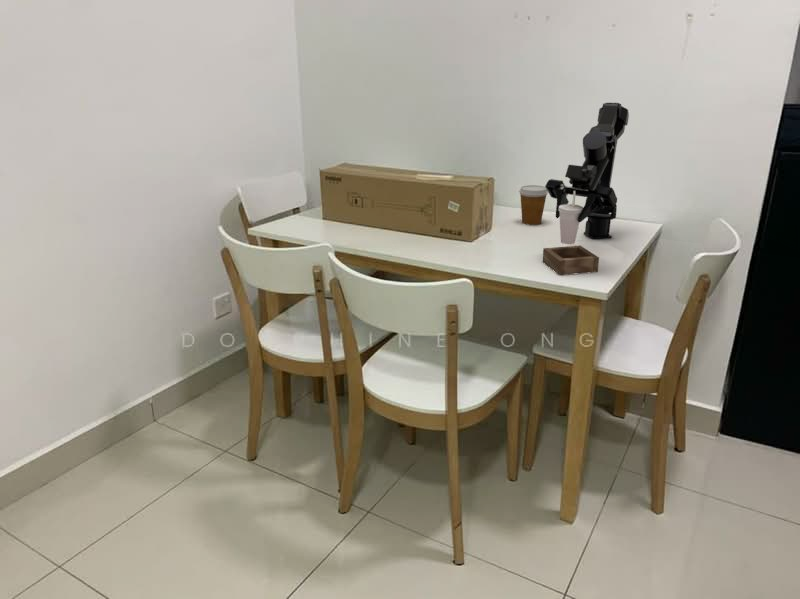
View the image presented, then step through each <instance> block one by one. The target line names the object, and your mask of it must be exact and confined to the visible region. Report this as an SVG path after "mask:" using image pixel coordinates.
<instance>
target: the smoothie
mask: <svg viewBox="0 0 800 599" xmlns="http://www.w3.org/2000/svg"><path fill="white" fill-rule="evenodd" d="M575 193H576V191H573V195H572V204H570V203H568V204H564V205H560V206H559V209H558V211H559V212H560V216H559V230H560V236H559V237H560V243H561V244H562V245H563V244H565V245H573V244H575V243H576V239H577V234H578V230H579V226H580V222H578V218H579V215H580V213H581V211H582V209H583V208H584V206H581V205H579V204H576V203H575V202H576V196H575Z"/></svg>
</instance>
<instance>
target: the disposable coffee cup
mask: <svg viewBox="0 0 800 599" xmlns="http://www.w3.org/2000/svg"><path fill="white" fill-rule="evenodd" d="M518 192H519V194H520V209H521V223H522V224H524V225H527V224H529V225H528V226H536V225H537V224H538V225H541V223H542V218H543V215H544V214H543V213H544V209H545V205H546V199H547V195H548V194H549V192H548V191H547V189H546V187H545V186H544V185H535V184H534V185H533V184H529V185H527V184H526V185H522V186H521V187H520V189H519V191H518Z"/></svg>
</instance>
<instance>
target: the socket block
mask: <svg viewBox="0 0 800 599" xmlns="http://www.w3.org/2000/svg"><path fill="white" fill-rule="evenodd" d="M599 262H600V257H599V256H598V255H596V254H594V253H593V252H591V251H590V250H588V249H587V248H585V247H584V246H582V245H580V244H579V245H567V246H557V247H556V246H554V247H544V248H543V251H542V263H543V264H544V263H545V264H544V265H545V266H546V267H548V268H549V267H550V268H549V269H550V270H552V271H553V270H554V271H555V272H556V273H555V272H554V271H553V272H554V273H555V274H556V275H558V276H563V275H564V274H567V275H575V274H574V273H578V274H588V272H590V273H598V271H599V265H600V264H599Z"/></svg>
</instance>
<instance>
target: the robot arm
mask: <svg viewBox="0 0 800 599" xmlns="http://www.w3.org/2000/svg"><path fill="white" fill-rule="evenodd" d="M629 116H630V113H629V109H628V108H626V107H624V106H622V104H621V103H619V102H604V103H603V104H602V107H601V108H599V109H598V115H597V125H595V126H592V127H591V128H590V130H589V131H588V133H586V134H585V135H584V137H583V138H582V149H583V156H584V159H585V160H584V161H583V163H582V165H576V164H568V165H567V169H566V173H565V178H568V179H569V181H568V182H569V185H571V186H567V185H565V183H564V181H563V180H562V179H561V180H559V179H555V178H554V179H553V178H551V179H548V180H547V182H546V184H545V186H544V187H546V189H547V191H548V194H549V196H550V197H551V198H553V199H556V206H555V208H556V209H555V218H556V219H560V212H559V211H558V209H559V206H560V205H564V204H569V203H570V202H569V201H570V200H568V198H567V197H568V195H571V196H573V191H576V193H575V197H576V196H577V197H582V198H586V199H585V204H584V206H583V209H582V211H581V213H580V215H579V218H578V222H579V223H581V222H583V221H584V220H585V219H587V220H586V221H585V226H584V227H585V228H584V231H583V234H584V235H585V236H586V237H589V238H590V239H592V240H594V239H595V240H599V239H611V238H612V237H613V236H612V235H611V234H610V229H611V221H612V220H614V219H617V206H618V205H617V203H618V197H617V195H616V192H615V190H614V188H613V187H611V183H612V176H613V169H614V166H615V165H614V163H615V159H616V158H615V157H616V152H617V147H618V146H617V144H618V140H619V139H620V138H621V137H622V136H623V134H624V133H625V130H626V126H628V124H629V118H630V117H629Z"/></svg>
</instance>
